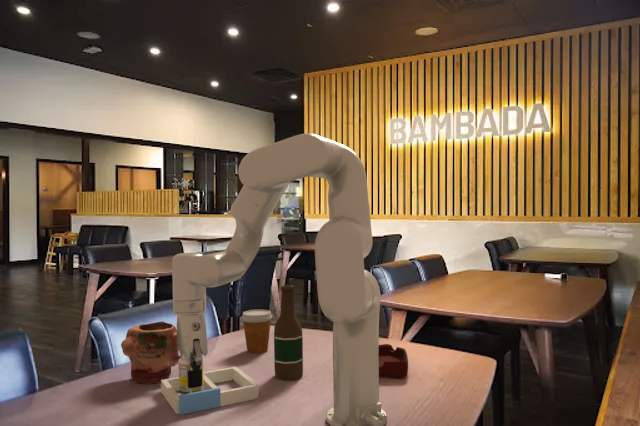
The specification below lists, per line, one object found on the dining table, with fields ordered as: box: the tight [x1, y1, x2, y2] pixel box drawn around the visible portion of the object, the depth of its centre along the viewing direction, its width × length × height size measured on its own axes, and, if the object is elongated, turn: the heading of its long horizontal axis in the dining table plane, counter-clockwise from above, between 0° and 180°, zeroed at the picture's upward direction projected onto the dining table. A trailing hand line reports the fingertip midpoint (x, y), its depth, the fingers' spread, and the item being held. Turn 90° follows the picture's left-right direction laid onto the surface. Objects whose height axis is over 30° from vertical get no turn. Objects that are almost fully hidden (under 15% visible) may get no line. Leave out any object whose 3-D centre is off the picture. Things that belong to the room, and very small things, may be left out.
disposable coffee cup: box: [241, 309, 273, 355], centre depth 157 cm, size 10×10×12 cm
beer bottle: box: [273, 284, 304, 382], centre depth 133 cm, size 8×8×24 cm
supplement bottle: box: [177, 354, 204, 395], centre depth 118 cm, size 6×6×10 cm
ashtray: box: [378, 343, 409, 380], centre depth 136 cm, size 18×16×5 cm
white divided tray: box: [160, 366, 259, 416], centre depth 121 cm, size 16×19×4 cm
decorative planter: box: [120, 321, 181, 385], centre depth 133 cm, size 20×12×14 cm, turn 86°
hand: (191, 382), depth 118 cm, fingers closed on supplement bottle, 5 cm apart
